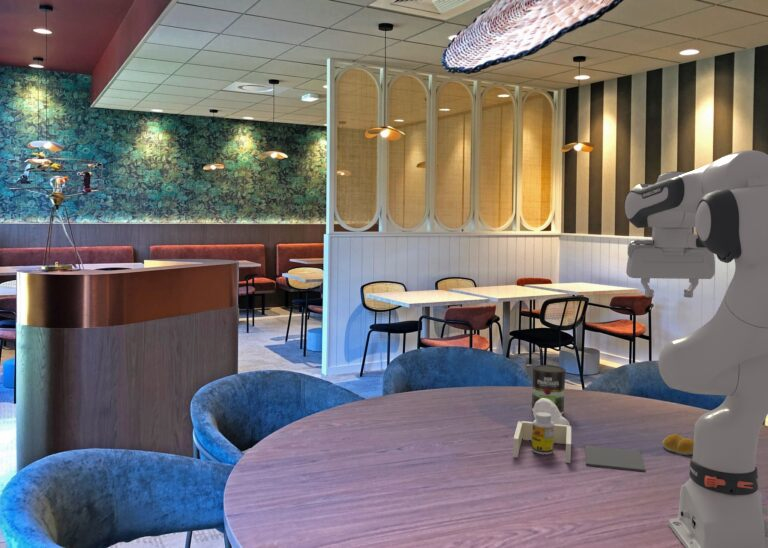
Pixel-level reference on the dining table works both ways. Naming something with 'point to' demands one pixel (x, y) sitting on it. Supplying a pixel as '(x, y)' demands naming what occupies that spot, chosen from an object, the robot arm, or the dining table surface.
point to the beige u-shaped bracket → (526, 429)
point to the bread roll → (678, 444)
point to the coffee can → (549, 385)
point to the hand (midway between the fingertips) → (668, 297)
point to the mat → (614, 458)
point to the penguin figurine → (549, 411)
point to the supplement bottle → (543, 434)
